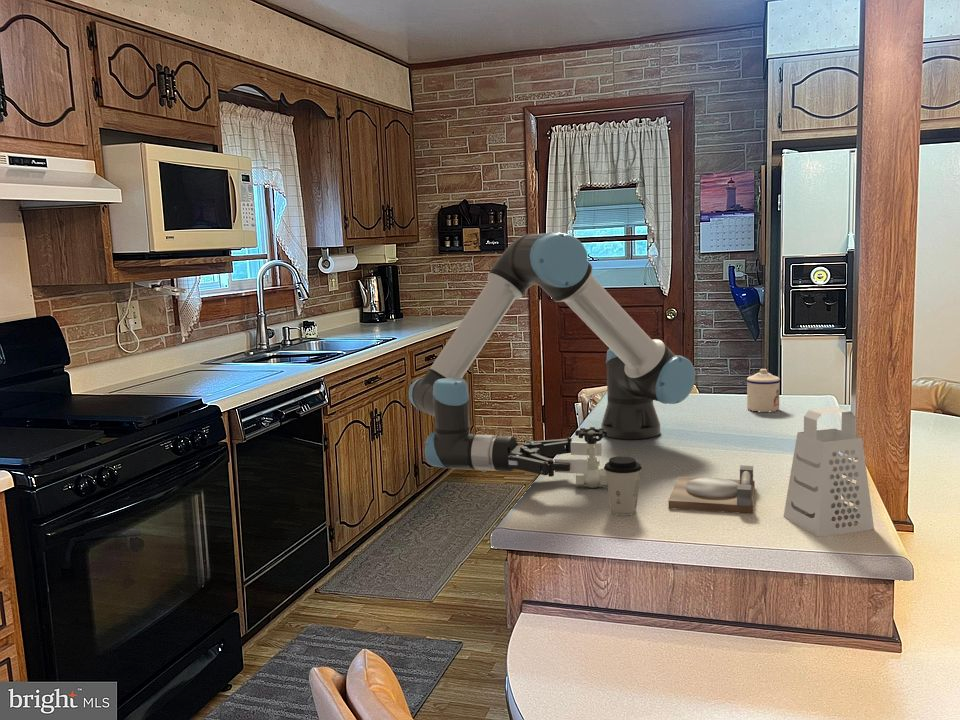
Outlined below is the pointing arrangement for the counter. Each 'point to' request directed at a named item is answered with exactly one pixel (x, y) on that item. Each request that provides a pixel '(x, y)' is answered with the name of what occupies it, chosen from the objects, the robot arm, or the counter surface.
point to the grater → (828, 477)
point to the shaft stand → (715, 493)
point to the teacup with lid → (763, 392)
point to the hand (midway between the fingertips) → (594, 457)
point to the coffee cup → (623, 484)
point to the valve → (592, 459)
